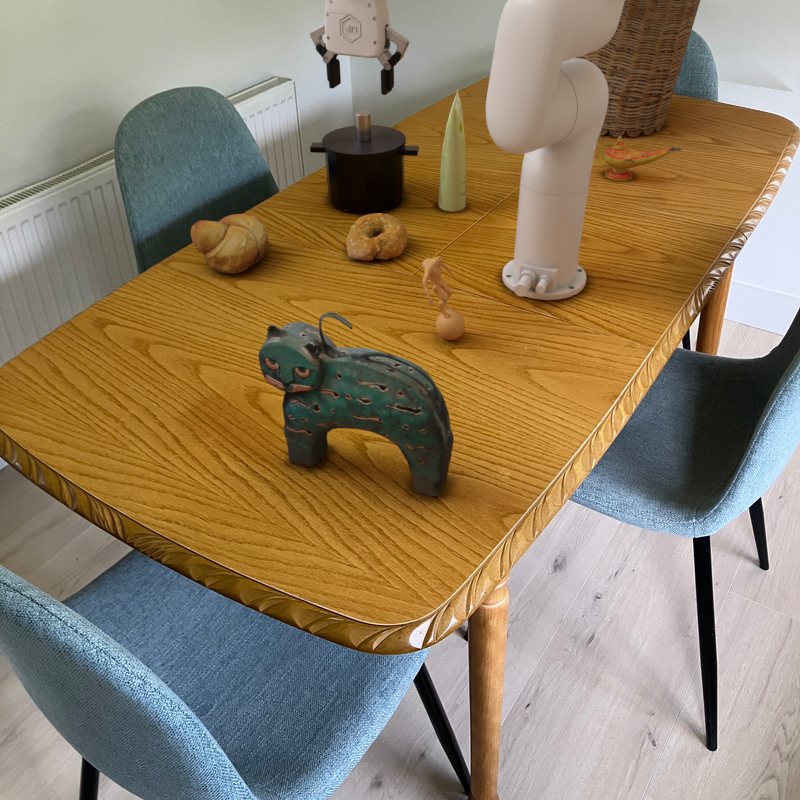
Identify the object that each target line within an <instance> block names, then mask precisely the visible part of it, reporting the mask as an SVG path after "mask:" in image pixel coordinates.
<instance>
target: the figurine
mask: <svg viewBox="0 0 800 800" xmlns="http://www.w3.org/2000/svg"><path fill="white" fill-rule="evenodd" d="M421 267H422V268H421V269H422V270H423V272H424V274H423V278H422V286H423V288H424V292H425V294H426V296H427V300H428V301H427V302H428V304H429V307H433V306H435V304H436V303H434V301H435V299H433V298H432V297H431V292H430V289H429V286H428V280H430V283H431V284H432V288H431V290H432V292H433V293H434V294H435V296H437V297H438V299H440V300H439V301H438V303H437V305H438V309H439V311H440V312H441V313H440V314H439V315H438V317H437V318H436V321H435V329H436V332H437V334H438V335H439V336H440V337H441V338H442V339H444V340H447V341H451V340H453V341H454V340H456V339H458V338H460V337H461V336H462V335H463V333H464V332H465V329H466V322H465V318H464V317H463V315H462V314H461V313H459V311H456V310H455V309H454V308H453V307H450V306H449V304H448V303H447V302H448V300H449V298H450V297H451V296H452V294H453V290H452V289H451V288H450V287H449V286H448V285H447V284H446V282H445V280H444V279H443V277H442V274H443V269H444V270H445V271H446V272H448V273H449V274H450V276H451V277H452V278H455V276H454V273H453V272H452V271H451V269H450V268H449V267H448V266H447V265H446V264H445V263H444V261H443V257H442V256H440V255H438V256H436V257H431V258H429V257H428V258H427V257H426V258H425V259H424V260H422V263H421ZM443 306H444V307H443ZM445 309H446V310H445Z"/></svg>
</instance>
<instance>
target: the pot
mask: <svg viewBox="0 0 800 800" xmlns="http://www.w3.org/2000/svg"><path fill="white" fill-rule="evenodd" d="M309 152H310V153H312V154H313V153H316V154H317V153H318V154H324V159H325V170H326V183H327V184H326V185H327V195H328V197H327V198H328V201H329V204H330V205H331V207H332V208H334V209H336V210H337V211H340V212H343V213H347V214H351V215H363V216H365V215H369V214H375V213H382V214H384V213H386V212H389V211H393V210H394V209H396V208H398V207H399V206H400V205H402V204H403V202H404V200H405V156H406V157H407V156H410V157H418V156H419V155H418V154H419V152H420V146H419V145H409V144H408V145H406V144H405V145H404V146H403V148H401V149H400V150H398V151H396V152H394V153H391V154H387V155H383V156H378V157H369V158H353V157H344V156H339V155H335V154H332V153H330V152H328V151H327V150H325V149H324V148H323V146H322V142H315V141H313V142H312V143H311V145H309Z"/></svg>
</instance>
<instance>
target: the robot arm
mask: <svg viewBox="0 0 800 800" xmlns="http://www.w3.org/2000/svg"><path fill="white" fill-rule="evenodd" d="M624 2H625V0H507V1H506V3H505V5H504V7H503V9H502V12H501V15H500V18H499V21H498V26H497V31H496V36H495V42H494V43H495V44H494V49H493V55H492V61H491V68H490V74H489V79H488V86H487V93H486V100H485V121H486V127H487V131H488V133H489V135H490V138H491V140H492V141H493V143H494V144H495V145H496V146H497V147H498V148H499V149H500V150H501V151H503V152H505V153H507V154H511V155H524V156H523V160H522V165H521V172H520V179H519V180H520V182H519V193H518V205H517V216H516V228H515V229H516V230H515V240H514V241H515V242H514V251H513V252H514V253H513V259H511V260H509V261H508V262H507V263H506V264H505V265H504V266H503V268H502V272H501V273H502V275H501V276H502V277H501V278H502V282H503V284H504V285H505V286H506V287H507V288H508V289H509V290H510V291H512V292H514V295H516V296H518V297H525V298H527V299H528V298H529V299H533V300H539V301H542V300H543V301H556V300H557V301H558V300H564V299H567V298H571V297H573V296H575V295H577V294H579V293H580V292H581V291H582V290H584V288H585V286H586V283H587V273H586V271H585V270H584V268H583V267H582V266H581V265H580V264H579V259H580V252H581V251H580V250H581V243H582V238H583V237H582V236H583V229H584V223H585V217H586V209H587V202H588V196H589V195H588V194H589V189H590V183H591V177H592V169H593V163H594V159H595V153H596V149H597V148H596V145H597V146H598V141H599V135H600V132H601V130H603V129H602V126H603V123H604V119H605V116H606V112H607V107H608V99H609V92H608V85H607V81H606V79H605V76H604V75H603V73H602V71H601V70H600V69H599V68H598V67H597V66H596V65H595V64H593V63H592V62H590V61H588V60H584V59H580V58H576V57H579V56H582V55H585V54H588V53H591V52H594V51H596V50H598V49H600V48H602V47H603V46H605V45H606V44H607V43H608V42H609V41H610V40H611V38H612V37H613V35H614V34H615V32H616V29H617V27H618V24H619V20H620V17H621V13H622V9H623V6H624ZM324 7H325V8H324V24H323V25H321V26H319V27H318V28H316V29H314V30H312V31H311V32H310V34H309V36H310V38H311V41H312V43H313V45H314V46H315V51H316V52H317V53H318V54H319V55H320V57H321V58H322V62H323V63H324V64H325V65H326V66H325V67H326V79H327V82H328V88H329V89H335V88H337V87H338V86H339V85H340V84H342V79H341V78H342V77H341V63H340V62H341V61H340V59H338V56H347V57H355V58H356V57H357V58H365V59H366V58H367V59H375V58H376V59H377V60H378V62H379V63H380V65H381V66H382V69H381V70H380V94H381V95H383V96H386V95H388V94H389V93H391V92H392V90H393V89H394V87H395V66H397V64H398V63H399V62H400V61H401V60H402V59H403V58H404V57H405V53H406V52H407V49H408V47H409V45H410V41H409V39H408V38H406V37H405V36H403V35H402V34H400V33H399V32H397V31H396V30H394V29H393V28H392V27H391V21H390V20H391V19H390V12H389V3H388V0H325V6H324ZM323 36H324V38H323ZM391 42H392V43H393V44H395V45H396V49H395V52H394V53H392V52H391V50H390V48H391Z"/></svg>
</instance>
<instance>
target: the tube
mask: <svg viewBox="0 0 800 800" xmlns="http://www.w3.org/2000/svg"><path fill="white" fill-rule="evenodd" d="M452 101H453V102H452V104H451V107H450V110H449V114H448V118H447V122H446V127H445V131H444V137H443V142H442V149H441V150H442V151H441V161H440V171H439V185H438V203H437V204H438V208H439V209H440V210H443V211H445V212H451V213H452V212H453V213H455V212H460V211H463V210H464V209H465V208H466V205H467V154H466V153H467V150H466V135H465V124H464V115H463V108H462V102H461V98H460V94H459V89H458V88H457V89H456V93H455V97H454V99H453V100H452Z"/></svg>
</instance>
